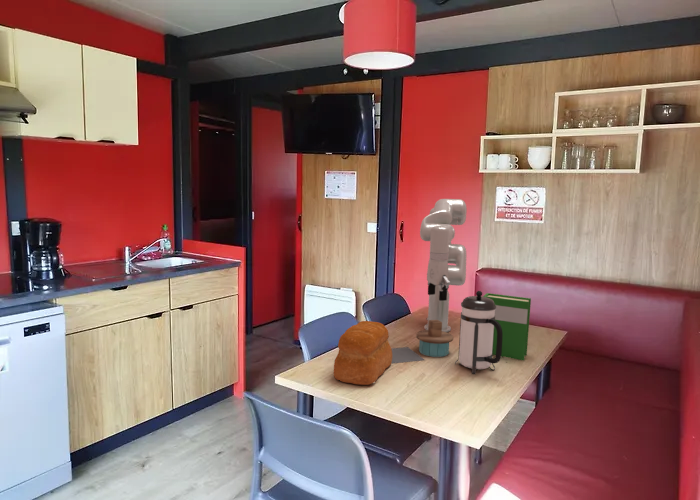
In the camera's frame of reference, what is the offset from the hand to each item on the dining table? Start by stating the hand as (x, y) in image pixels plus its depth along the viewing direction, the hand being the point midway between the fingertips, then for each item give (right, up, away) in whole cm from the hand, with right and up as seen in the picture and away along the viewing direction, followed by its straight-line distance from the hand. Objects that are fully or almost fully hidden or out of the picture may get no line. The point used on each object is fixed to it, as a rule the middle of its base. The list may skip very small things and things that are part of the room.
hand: (436, 297), depth 199 cm
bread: (-31, -25, -22) cm, 45 cm away
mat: (-16, -23, -4) cm, 29 cm away
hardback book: (+28, -24, +2) cm, 37 cm away
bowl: (-1, -23, +1) cm, 23 cm away
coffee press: (+13, -26, -16) cm, 33 cm away
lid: (-1, -17, 0) cm, 17 cm away
